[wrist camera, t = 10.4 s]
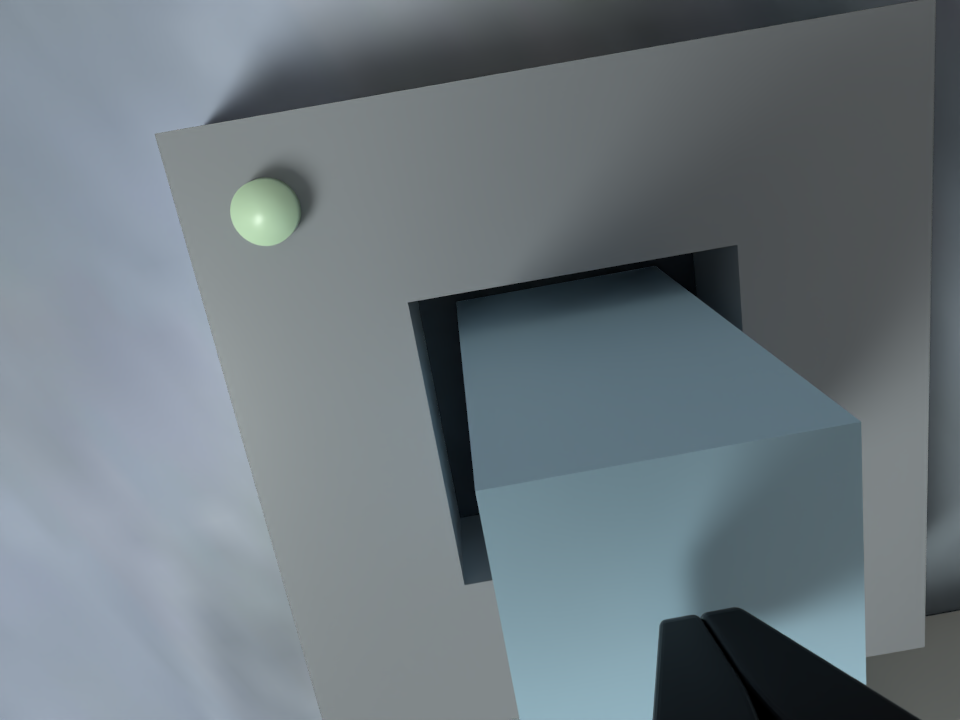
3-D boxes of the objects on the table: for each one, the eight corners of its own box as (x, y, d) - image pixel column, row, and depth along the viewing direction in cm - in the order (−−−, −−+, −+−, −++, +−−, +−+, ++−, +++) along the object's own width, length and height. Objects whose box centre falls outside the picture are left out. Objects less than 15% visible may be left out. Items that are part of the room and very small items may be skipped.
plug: (489, 480, 17) (533, 789, 9) (456, 301, 16) (475, 491, 8) (673, 447, 17) (867, 730, 9) (655, 265, 16) (861, 421, 8)
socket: (344, 666, 18) (328, 767, 15) (200, 128, 14) (146, 134, 12) (860, 575, 18) (936, 660, 15) (853, 14, 14) (952, -7, 12)
